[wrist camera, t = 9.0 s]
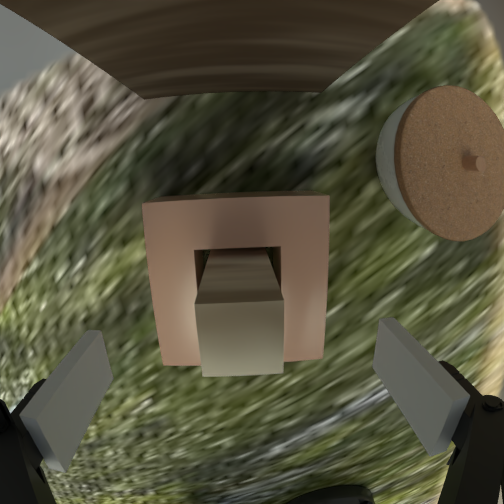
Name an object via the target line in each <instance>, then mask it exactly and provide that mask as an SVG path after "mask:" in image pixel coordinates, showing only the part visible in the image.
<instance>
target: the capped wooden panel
mask: <svg viewBox="0 0 504 504" xmlns="http://www.w3.org/2000/svg"><path fill="white" fill-rule="evenodd" d="M437 1H439V0H0V4H1V5H3V6H5V7H6V8H8V9H10V10H12V11H13V12H15V13H16V14H18V15H20V16H21V17H23V18H24V19H26V20H28V21H29V22H31V23H33V24H34V25H36V26H38V27H39V28H41V29H42V30H44V31H45V32H47V33H48V34H50V35H52V36H53V37H55V38H56V39H58V40H59V41H61V42H62V43H64V44H66V45H67V46H68V47H70V48H71V49H73V50H74V51H76V52H77V53H79V54H80V55H82V56H83V57H85V58H86V59H88V60H89V61H91V62H92V63H94V64H95V65H96V66H98V67H99V68H101V69H102V70H104V71H105V72H107V73H108V74H109V75H111V76H112V77H114V78H115V79H117V80H118V81H119V82H121V83H122V84H124V85H125V86H126V87H128V88H129V89H131V90H132V91H133V92H135V93H136V94H138V95H139V96H140V97H142V98H143V99H151V98H159V97H168V96H178V95H189V94H202V93H217V92H241V91H295V92H319V93H321V92H322V91H324V90H325V89H326V88H327V87H328V86H329V85H331V84H332V83H333V82H334V81H335V80H337V79H338V78H339V77H340V76H341V75H342V74H344V73H345V72H346V71H347V70H349V69H350V68H351V67H352V66H353V65H355V64H356V63H357V62H358V61H359V60H361V59H362V58H363V57H364V56H366V55H367V54H368V53H369V52H371V51H372V50H373V49H374V48H376V47H377V46H378V45H380V44H381V43H382V42H383V41H385V40H386V39H387V38H389V37H390V36H391V35H392V34H394V33H395V32H396V31H398V30H399V29H400V28H402V27H403V26H404V25H406V24H407V23H408V22H410V21H411V20H412V19H414V18H415V17H416V16H418V15H419V14H421V13H422V12H423V11H425V10H426V9H427V8H429V7H430V6H432V5H433V4H434V3H436V2H437Z"/></svg>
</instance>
